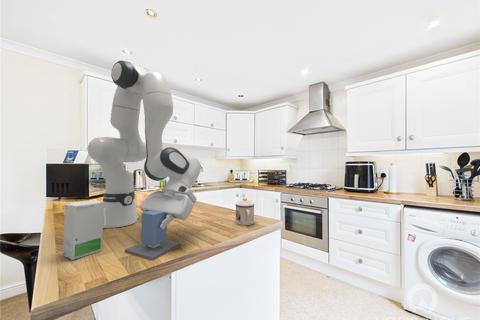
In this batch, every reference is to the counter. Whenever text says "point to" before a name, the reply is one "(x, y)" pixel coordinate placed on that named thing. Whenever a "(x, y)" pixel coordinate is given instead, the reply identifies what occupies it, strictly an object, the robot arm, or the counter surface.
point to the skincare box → (83, 229)
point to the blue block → (153, 228)
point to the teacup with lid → (244, 212)
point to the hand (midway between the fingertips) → (152, 226)
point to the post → (152, 249)
